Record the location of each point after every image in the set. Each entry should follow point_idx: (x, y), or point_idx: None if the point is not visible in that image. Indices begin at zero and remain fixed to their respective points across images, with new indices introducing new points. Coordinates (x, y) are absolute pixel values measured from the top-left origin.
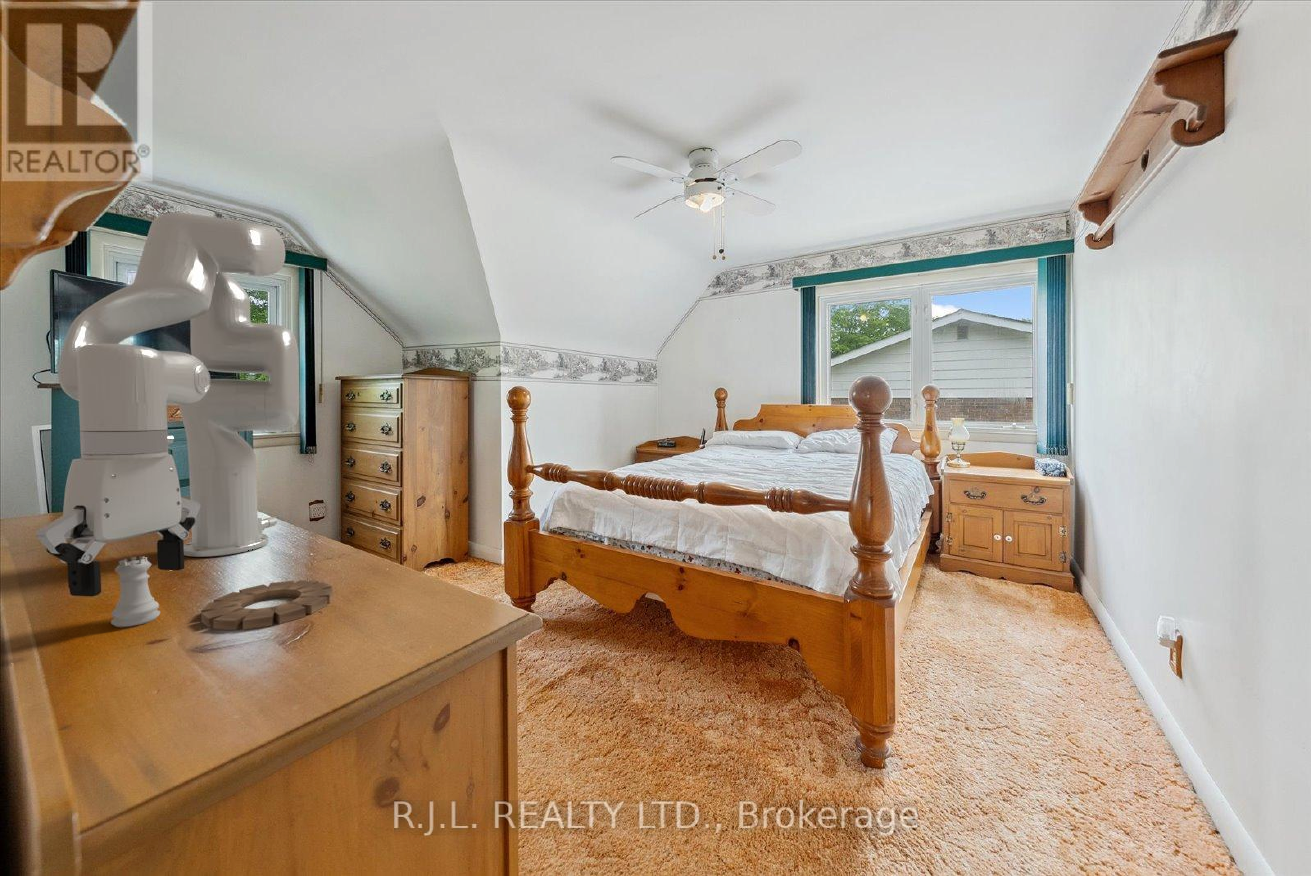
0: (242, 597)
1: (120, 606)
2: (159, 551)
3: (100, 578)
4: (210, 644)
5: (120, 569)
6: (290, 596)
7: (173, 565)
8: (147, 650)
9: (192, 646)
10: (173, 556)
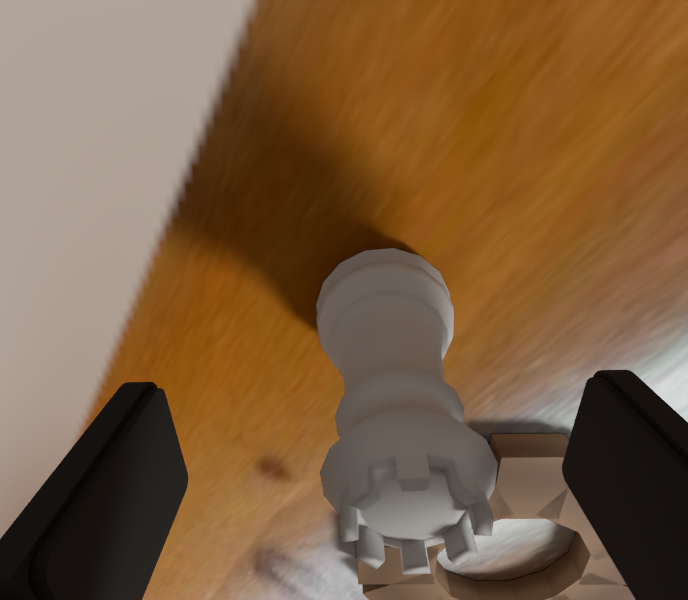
0: (522, 508)
1: (330, 345)
2: (675, 479)
3: (157, 556)
4: (288, 560)
5: (326, 490)
6: (574, 543)
7: (579, 473)
8: (231, 487)
9: (272, 542)
10: (611, 529)
